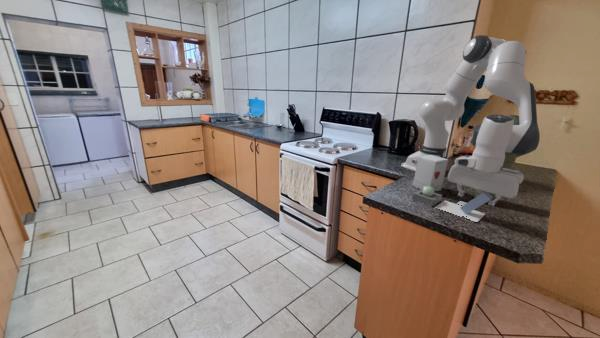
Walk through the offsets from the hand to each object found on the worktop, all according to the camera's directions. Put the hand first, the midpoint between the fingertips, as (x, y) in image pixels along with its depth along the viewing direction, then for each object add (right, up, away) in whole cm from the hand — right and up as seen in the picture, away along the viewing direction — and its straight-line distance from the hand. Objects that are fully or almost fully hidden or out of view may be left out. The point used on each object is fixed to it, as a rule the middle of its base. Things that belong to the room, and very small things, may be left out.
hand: (475, 200), depth 87 cm
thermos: (+15, -2, +15) cm, 21 cm away
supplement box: (-4, +2, +26) cm, 26 cm away
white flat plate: (-3, -5, +5) cm, 7 cm away
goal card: (+4, -3, +10) cm, 11 cm away
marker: (-2, -4, +3) cm, 6 cm away
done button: (-11, 0, +12) cm, 17 cm away
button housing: (-11, -2, +13) cm, 17 cm away
